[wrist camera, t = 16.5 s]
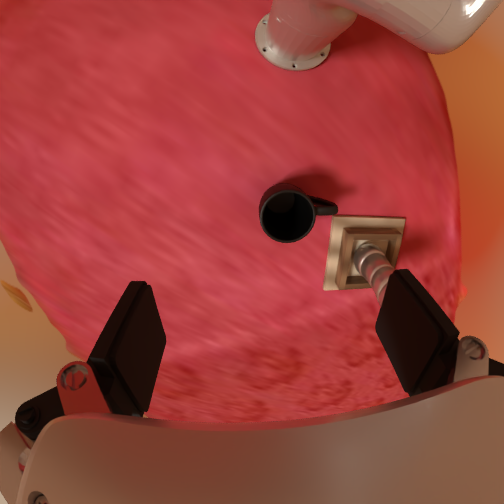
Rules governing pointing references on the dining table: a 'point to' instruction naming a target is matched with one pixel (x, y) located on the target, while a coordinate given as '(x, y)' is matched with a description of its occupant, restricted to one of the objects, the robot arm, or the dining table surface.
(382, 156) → the dining table surface
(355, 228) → the bottle stand
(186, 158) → the dining table surface
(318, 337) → the dining table surface
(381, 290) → the plastic bottle
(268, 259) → the dining table surface
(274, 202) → the mug
